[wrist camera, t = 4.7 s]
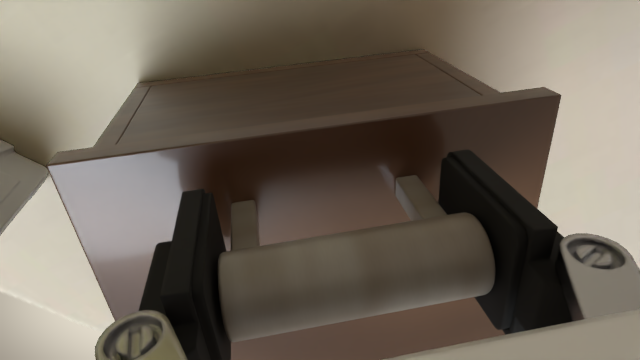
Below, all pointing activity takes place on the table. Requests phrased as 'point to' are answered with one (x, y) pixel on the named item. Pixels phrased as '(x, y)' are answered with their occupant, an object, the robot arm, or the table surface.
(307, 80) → the chest
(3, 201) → the cassette
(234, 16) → the table surface
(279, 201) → the lid
